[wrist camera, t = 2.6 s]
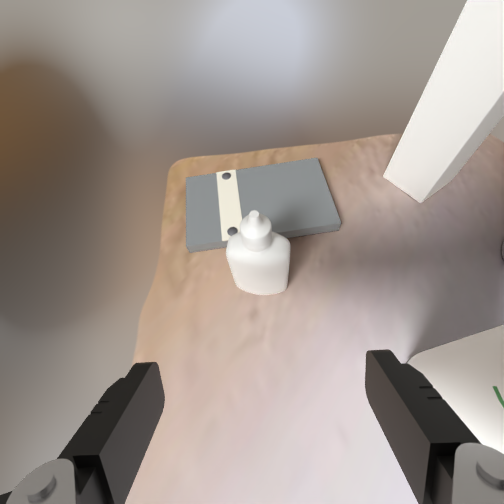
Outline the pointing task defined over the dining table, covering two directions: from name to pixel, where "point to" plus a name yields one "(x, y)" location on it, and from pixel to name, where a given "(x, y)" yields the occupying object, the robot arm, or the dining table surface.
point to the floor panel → (258, 202)
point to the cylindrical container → (471, 381)
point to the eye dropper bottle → (259, 256)
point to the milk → (454, 104)
